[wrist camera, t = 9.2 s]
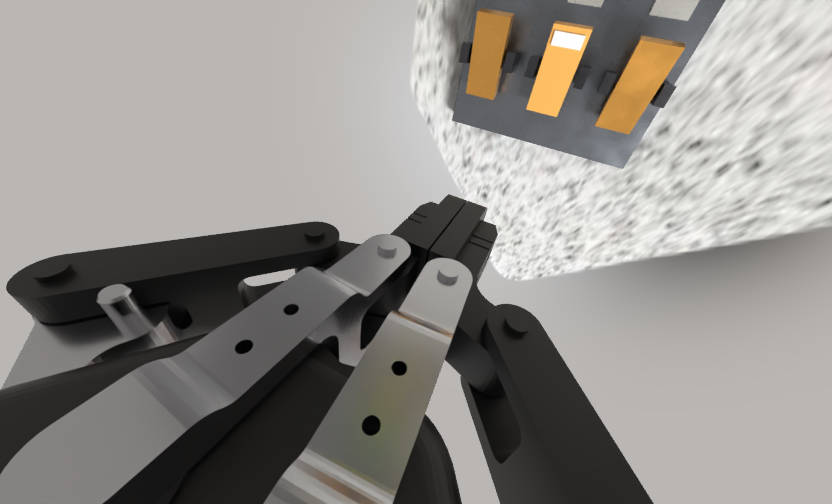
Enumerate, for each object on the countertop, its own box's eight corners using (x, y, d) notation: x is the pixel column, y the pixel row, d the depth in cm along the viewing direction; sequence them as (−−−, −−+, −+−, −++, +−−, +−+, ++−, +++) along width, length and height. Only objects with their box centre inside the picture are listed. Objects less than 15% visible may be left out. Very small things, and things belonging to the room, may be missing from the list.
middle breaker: (594, 26, 24) (592, 30, 23) (558, 112, 30) (556, 118, 29) (556, 20, 25) (553, 24, 24) (528, 105, 30) (525, 110, 30)
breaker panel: (721, -8, 24) (754, -19, 19) (621, 161, 33) (626, 182, 28) (492, -37, 29) (472, -53, 24) (459, 116, 37) (439, 127, 33)
